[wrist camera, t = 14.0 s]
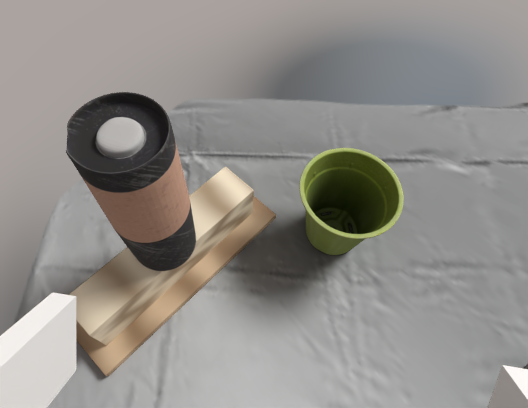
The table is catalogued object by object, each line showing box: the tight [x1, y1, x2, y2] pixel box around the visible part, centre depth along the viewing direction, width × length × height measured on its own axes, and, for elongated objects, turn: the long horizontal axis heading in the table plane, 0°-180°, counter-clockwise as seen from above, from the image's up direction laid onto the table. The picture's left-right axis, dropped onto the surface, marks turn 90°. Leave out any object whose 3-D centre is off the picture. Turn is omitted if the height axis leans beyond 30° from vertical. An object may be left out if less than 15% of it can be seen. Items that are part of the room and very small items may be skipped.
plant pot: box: [300, 148, 403, 255], centre depth 51 cm, size 12×12×11 cm
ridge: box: [69, 167, 276, 376], centre depth 50 cm, size 28×10×7 cm, turn 137°
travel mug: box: [66, 92, 196, 271], centre depth 38 cm, size 8×8×20 cm
